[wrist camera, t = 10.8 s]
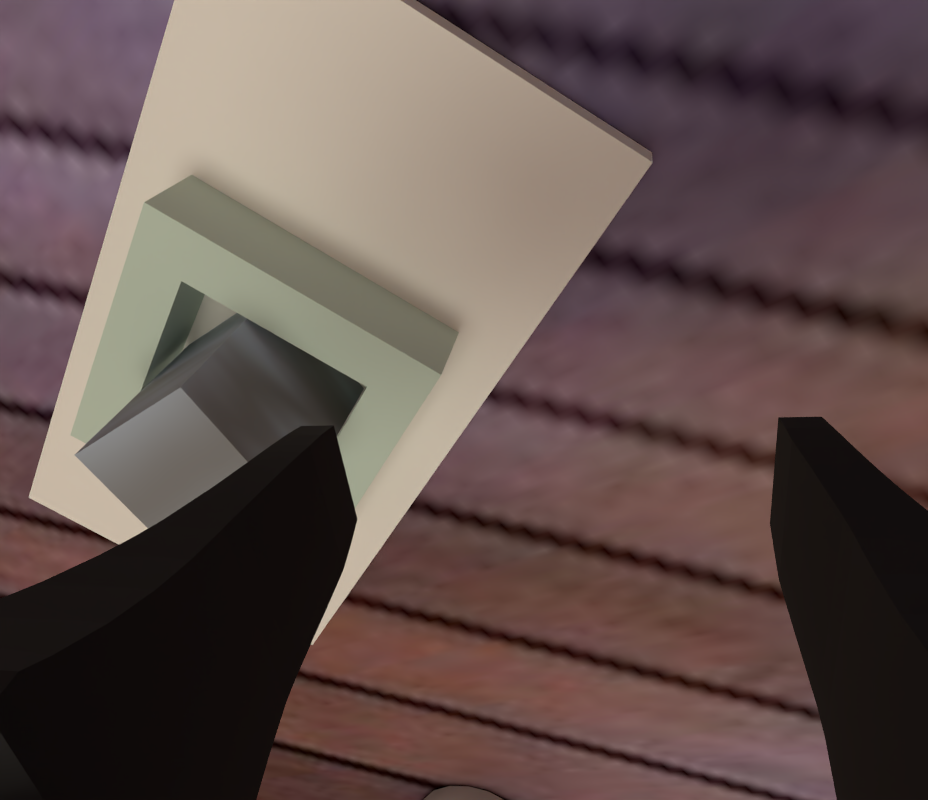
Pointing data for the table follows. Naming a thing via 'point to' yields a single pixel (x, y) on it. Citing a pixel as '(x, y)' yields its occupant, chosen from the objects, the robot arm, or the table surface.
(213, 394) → the post
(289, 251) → the board with square socket
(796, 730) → the table surface
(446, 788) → the bottle
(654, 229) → the table surface
